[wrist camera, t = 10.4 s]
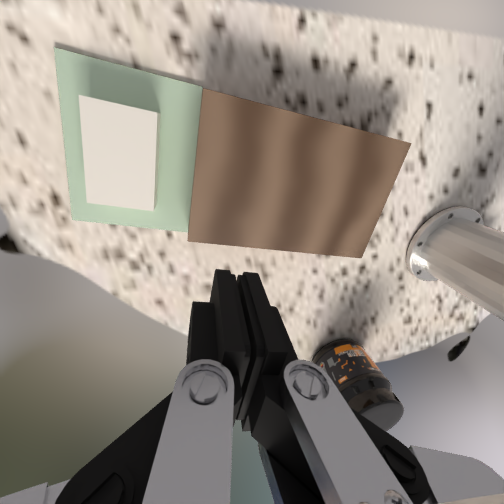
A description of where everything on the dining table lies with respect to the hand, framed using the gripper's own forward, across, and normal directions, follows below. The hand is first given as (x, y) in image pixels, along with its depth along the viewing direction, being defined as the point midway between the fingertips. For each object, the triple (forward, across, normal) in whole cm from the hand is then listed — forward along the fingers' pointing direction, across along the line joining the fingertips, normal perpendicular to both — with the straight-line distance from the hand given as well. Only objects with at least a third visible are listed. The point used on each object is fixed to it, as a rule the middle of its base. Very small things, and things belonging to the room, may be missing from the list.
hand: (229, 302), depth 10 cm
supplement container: (+22, -28, +28) cm, 45 cm away
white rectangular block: (+19, +9, -2) cm, 21 cm away
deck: (+21, -9, -2) cm, 23 cm away
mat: (+21, +8, -2) cm, 22 cm away
